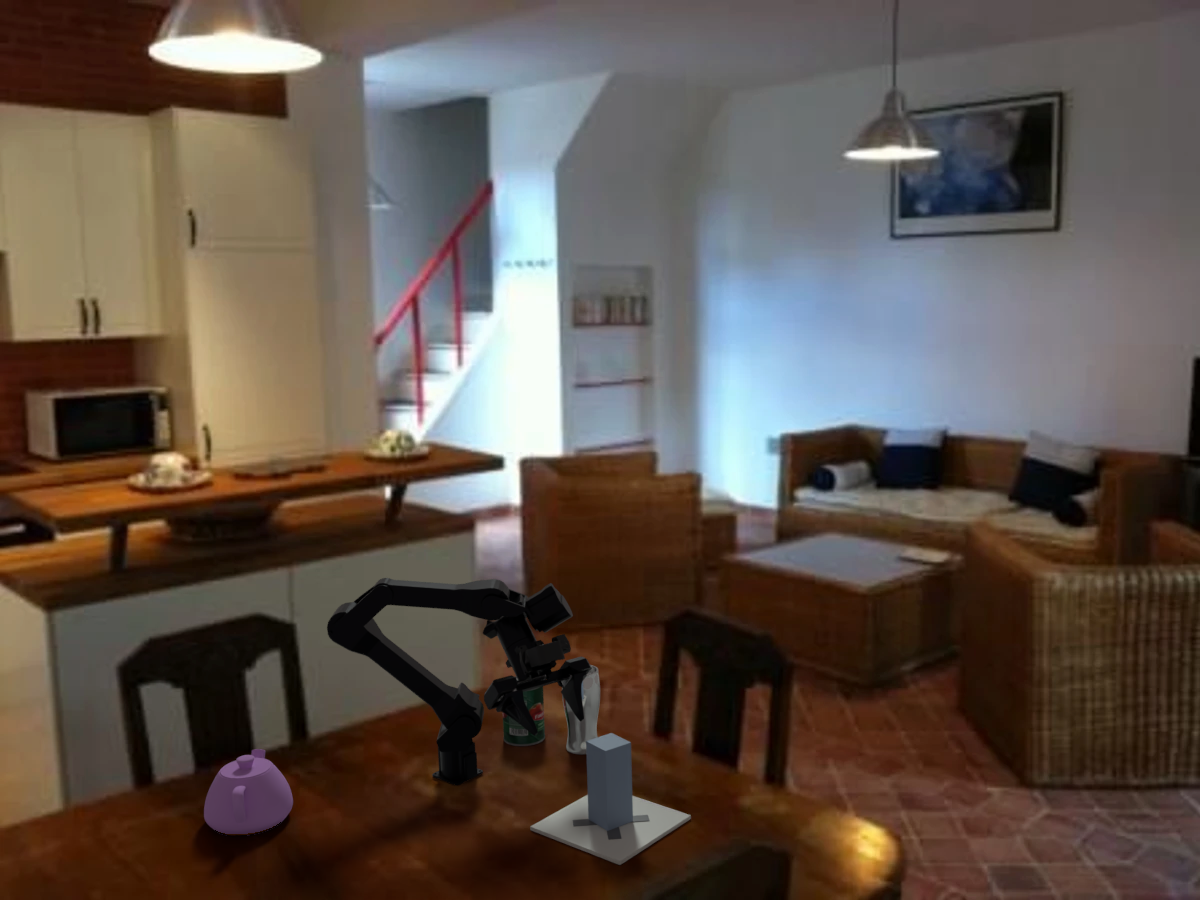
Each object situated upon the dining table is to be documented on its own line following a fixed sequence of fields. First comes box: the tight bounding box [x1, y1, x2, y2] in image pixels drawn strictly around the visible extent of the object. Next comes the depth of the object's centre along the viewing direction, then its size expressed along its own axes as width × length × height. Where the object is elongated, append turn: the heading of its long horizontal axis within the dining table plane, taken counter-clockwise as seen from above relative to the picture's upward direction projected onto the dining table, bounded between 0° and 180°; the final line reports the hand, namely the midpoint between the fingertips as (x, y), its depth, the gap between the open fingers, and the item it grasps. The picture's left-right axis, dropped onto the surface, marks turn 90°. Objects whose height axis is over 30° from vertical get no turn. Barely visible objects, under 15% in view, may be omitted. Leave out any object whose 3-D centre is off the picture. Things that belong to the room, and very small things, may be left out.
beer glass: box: [561, 664, 601, 755], centre depth 206 cm, size 7×7×15 cm
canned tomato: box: [502, 675, 546, 747], centre depth 211 cm, size 8×8×11 cm
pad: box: [529, 794, 692, 866], centre depth 177 cm, size 18×18×1 cm
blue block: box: [586, 732, 633, 831], centre depth 176 cm, size 5×5×13 cm
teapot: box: [203, 748, 294, 834], centre depth 182 cm, size 14×20×11 cm
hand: (559, 727), depth 184 cm, fingers open, 9 cm apart
